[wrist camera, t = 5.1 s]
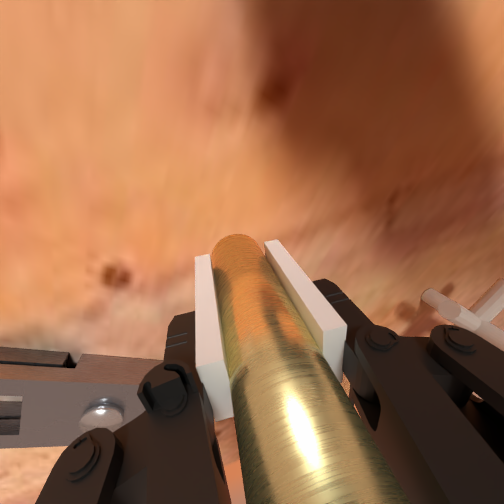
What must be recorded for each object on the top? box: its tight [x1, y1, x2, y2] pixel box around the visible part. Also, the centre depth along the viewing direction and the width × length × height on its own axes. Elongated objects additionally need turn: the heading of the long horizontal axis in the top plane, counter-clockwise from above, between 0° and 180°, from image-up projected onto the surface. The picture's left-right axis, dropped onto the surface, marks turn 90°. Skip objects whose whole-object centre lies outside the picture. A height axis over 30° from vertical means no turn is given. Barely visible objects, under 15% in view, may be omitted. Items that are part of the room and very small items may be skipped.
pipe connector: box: [421, 278, 504, 351], centre depth 24 cm, size 10×10×10 cm
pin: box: [212, 234, 411, 504], centre depth 9 cm, size 3×3×12 cm
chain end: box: [0, 354, 164, 449], centre depth 20 cm, size 19×8×3 cm, turn 67°
